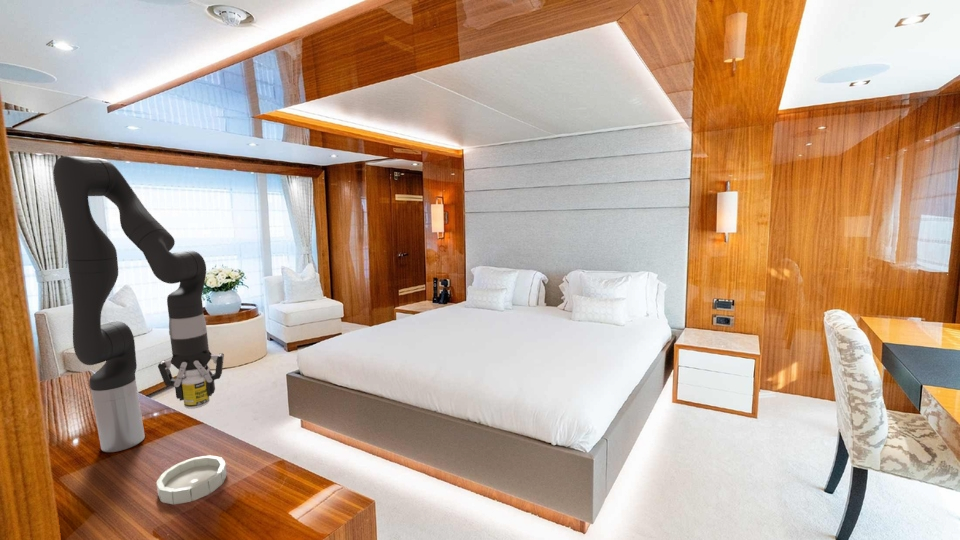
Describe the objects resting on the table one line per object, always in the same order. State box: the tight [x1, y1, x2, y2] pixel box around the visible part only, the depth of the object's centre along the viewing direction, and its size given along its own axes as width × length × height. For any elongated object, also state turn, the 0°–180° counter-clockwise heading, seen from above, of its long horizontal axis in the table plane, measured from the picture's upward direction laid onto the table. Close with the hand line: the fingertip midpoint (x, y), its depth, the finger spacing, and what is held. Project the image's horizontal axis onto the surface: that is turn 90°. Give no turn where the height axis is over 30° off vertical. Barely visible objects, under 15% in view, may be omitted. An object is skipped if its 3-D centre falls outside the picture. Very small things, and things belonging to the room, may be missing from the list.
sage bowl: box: [155, 455, 228, 505], centre depth 100 cm, size 13×13×3 cm
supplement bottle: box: [182, 369, 210, 410], centre depth 109 cm, size 5×5×10 cm
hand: (196, 396), depth 110 cm, fingers closed on supplement bottle, 5 cm apart
